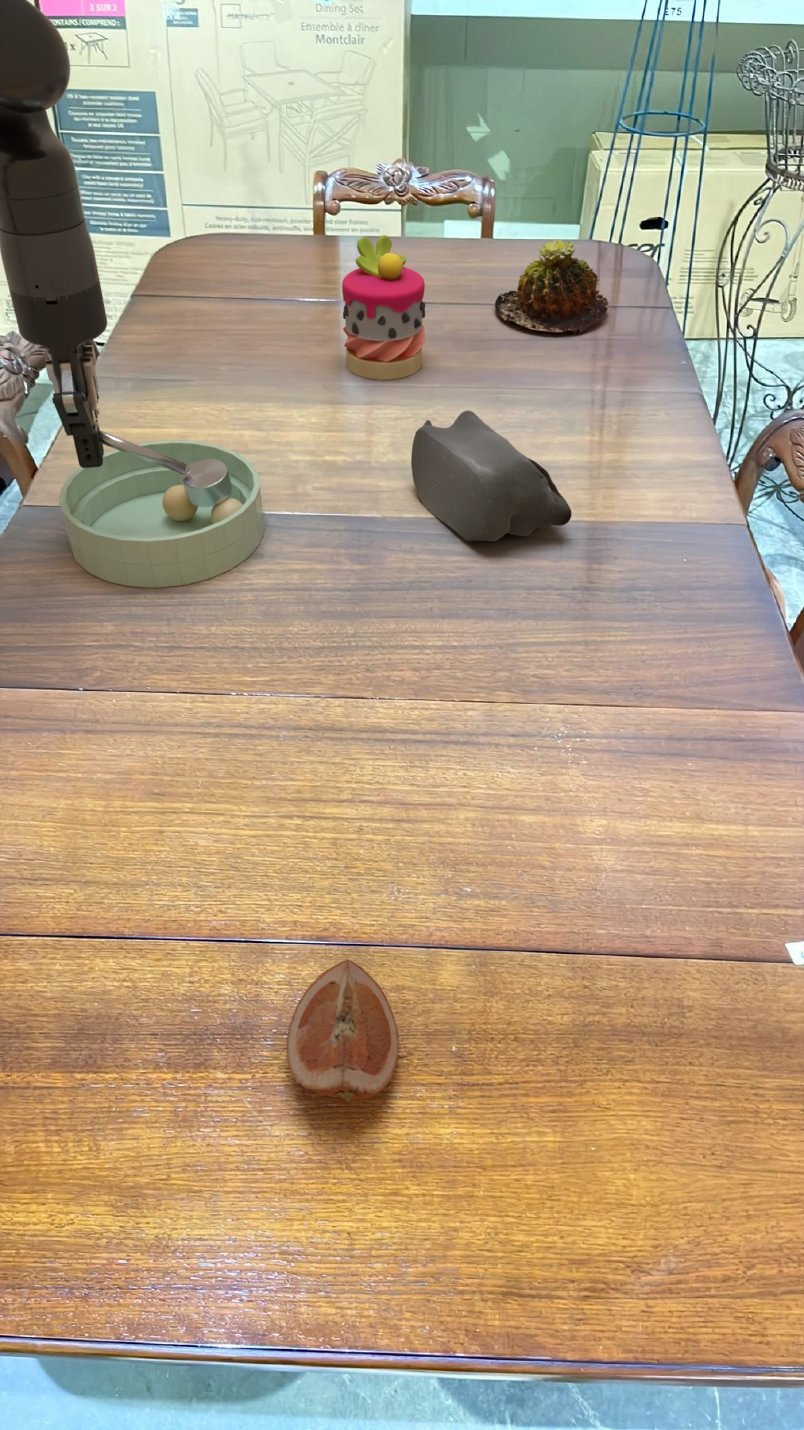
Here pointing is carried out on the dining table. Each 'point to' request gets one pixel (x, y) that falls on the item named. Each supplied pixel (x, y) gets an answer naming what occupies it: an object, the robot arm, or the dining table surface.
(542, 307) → the cactus
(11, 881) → the dining table surface
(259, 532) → the bowl
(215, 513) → the dumpling
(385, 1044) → the fruit slice
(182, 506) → the dumpling
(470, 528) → the rock
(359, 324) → the cake
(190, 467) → the ladle
